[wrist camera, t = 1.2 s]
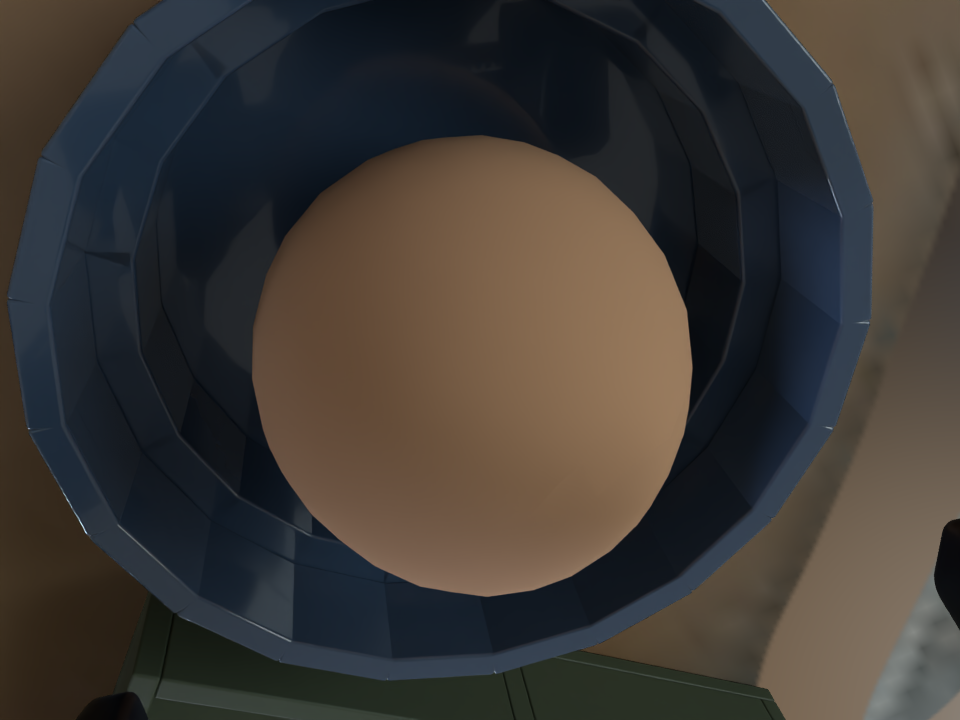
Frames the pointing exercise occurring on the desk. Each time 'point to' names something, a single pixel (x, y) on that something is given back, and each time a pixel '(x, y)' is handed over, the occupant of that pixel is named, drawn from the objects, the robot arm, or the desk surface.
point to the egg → (472, 364)
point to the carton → (408, 686)
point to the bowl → (329, 157)
